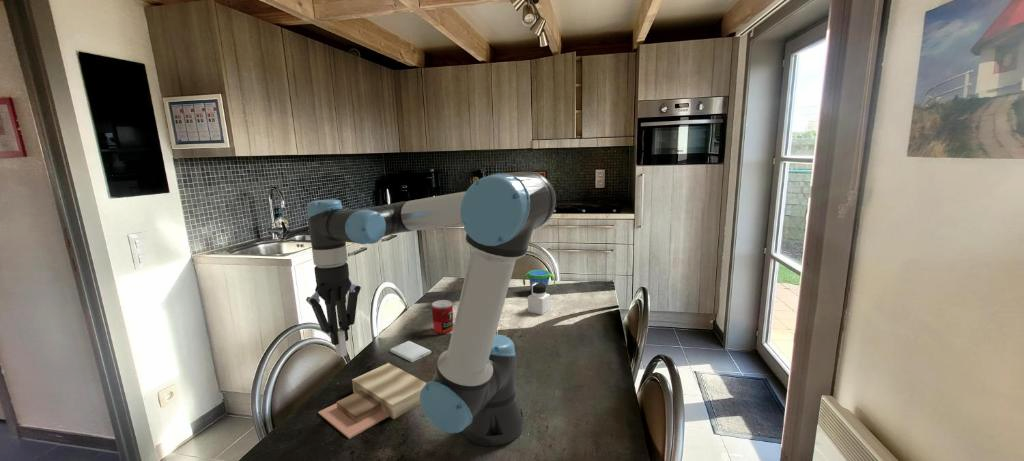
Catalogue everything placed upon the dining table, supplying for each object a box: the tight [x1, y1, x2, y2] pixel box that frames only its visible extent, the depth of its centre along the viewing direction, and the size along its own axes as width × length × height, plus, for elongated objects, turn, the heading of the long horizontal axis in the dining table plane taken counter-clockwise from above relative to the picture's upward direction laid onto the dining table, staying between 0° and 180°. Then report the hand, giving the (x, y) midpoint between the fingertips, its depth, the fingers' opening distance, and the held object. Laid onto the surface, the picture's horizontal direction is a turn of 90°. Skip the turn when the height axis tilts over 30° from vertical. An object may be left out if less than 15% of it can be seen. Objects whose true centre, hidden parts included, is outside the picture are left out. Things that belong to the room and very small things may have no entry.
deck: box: [351, 362, 427, 420], centre depth 115 cm, size 20×12×4 cm, turn 50°
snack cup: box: [522, 269, 556, 294], centre depth 198 cm, size 16×10×10 cm
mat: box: [317, 402, 390, 440], centre depth 107 cm, size 16×11×1 cm
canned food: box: [431, 299, 454, 335], centre depth 157 cm, size 8×8×11 cm
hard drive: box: [389, 340, 432, 363], centre depth 141 cm, size 2×8×12 cm
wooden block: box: [336, 390, 381, 423], centre depth 109 cm, size 10×7×2 cm
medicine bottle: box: [527, 283, 551, 316], centre depth 174 cm, size 7×7×12 cm
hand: (341, 354), depth 103 cm, fingers closed
